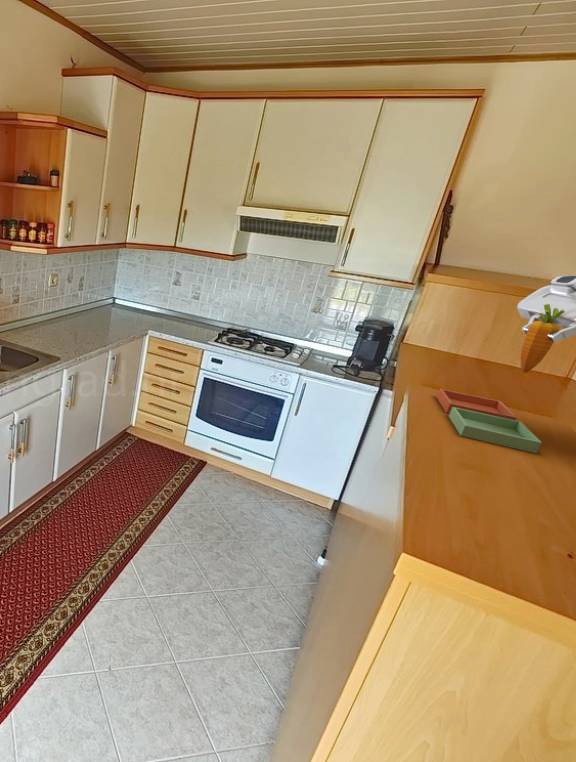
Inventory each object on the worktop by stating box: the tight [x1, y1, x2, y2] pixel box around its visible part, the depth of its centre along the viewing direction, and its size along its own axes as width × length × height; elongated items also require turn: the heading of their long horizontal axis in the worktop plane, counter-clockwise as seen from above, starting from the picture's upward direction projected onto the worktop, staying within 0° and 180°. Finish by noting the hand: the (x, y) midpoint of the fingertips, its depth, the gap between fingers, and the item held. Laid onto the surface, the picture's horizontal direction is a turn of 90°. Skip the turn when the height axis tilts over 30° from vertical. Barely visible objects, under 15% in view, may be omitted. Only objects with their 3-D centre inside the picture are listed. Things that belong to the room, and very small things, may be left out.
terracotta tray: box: [436, 388, 518, 421], centre depth 124 cm, size 13×13×3 cm
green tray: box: [448, 407, 542, 454], centre depth 110 cm, size 13×13×3 cm
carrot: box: [520, 304, 565, 374], centre depth 105 cm, size 5×5×15 cm
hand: (538, 335), depth 104 cm, fingers closed on carrot, 4 cm apart
